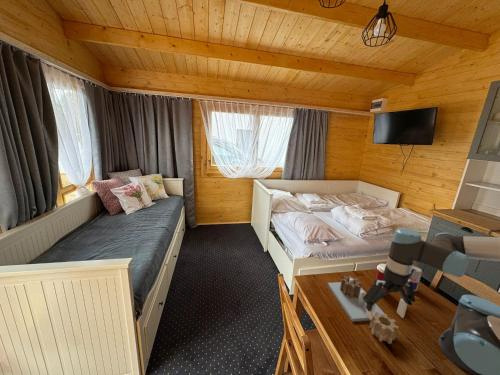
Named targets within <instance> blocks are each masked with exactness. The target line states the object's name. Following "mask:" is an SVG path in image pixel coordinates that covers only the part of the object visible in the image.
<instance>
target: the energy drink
mask: <svg viewBox="0 0 500 375" xmlns="http://www.w3.org/2000/svg"><path fill="white" fill-rule="evenodd" d="M422 273H423V271H422V269H421V268H420V267H418V266H416V265H413V267H412V270H411V273H410V277H409V280H411V281H412V282H413V286H412V287H413V292H414V293H415V292H417V291H418V287H419V283H420V281H421V277H422Z"/></svg>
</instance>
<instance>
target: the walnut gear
mask: <svg viewBox="0 0 500 375" xmlns="http://www.w3.org/2000/svg"><path fill="white" fill-rule="evenodd" d="M350 278H352V279H354V283H353V284H351V283H349V279H350ZM361 288H362V281H361V282H360V281H359V278H357V277H355V278H354V277H352V275H348V276H347V275H343V276H342V278H341V286H340V290H342V291H343V294H344V295H346V294H347V295H348V296H350V298H353V297H354V296H355V297H357V298H358V297H359V294H360V289H361Z"/></svg>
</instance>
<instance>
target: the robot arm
mask: <svg viewBox="0 0 500 375" xmlns="http://www.w3.org/2000/svg"><path fill="white" fill-rule="evenodd" d="M469 259H470V260H482V261H492V262H500V236H499V237H498V236H497V237H496V236H495V237H494V236H471V235H470V236H469V235H466V236H464V235H454V234H452V233H449V232H439V233H436V234H435V235H434V236H433V237H432V238H431V242H428V241H425V240H422V234H420V232H417V231H414V230H413V229H409V228H404V227H401V228H397V229H395V230H394V234H393V237H392V239H391V244H390V248H389V252H388V255H387V260H386V263H385V264H386V266H385V270H384V279H383V281H380V280H378V279H376V278H375V280H374V283H373V284H372V285H371V287H370V288H369V290H368V291H367V292H366V295H365V296H364V297H363V299H364V301H365V302H366V303H367V305H366V309H367V310H366V315H367V316H368V317H369V319H370V320H369V321H371V320H372V318H373V314H374V310H375V303H378V302H379V301H380V300H381V299H382V298H383V297H384V296H387V295H389V294H390V293H399V295H400V296H401V298H400V299H399V303H398V306H397V309H396V314H398V315H399V316H400V317H401V318H403V319H404V317H405V315H406V311H407V310H408V309H409V308H408V307H409V305H410V306H413V303H414V302H416V297H415V292H413V287H412V286H413V282H412V281H411V280H409V277H410V273H411V270H412V267H413V266H414V262H416V263H417V264H418V263H419V264H421V265H424V266H427V267H429V268H432V269H434V270H438V271H440V272H442V273H443V274H446V275H447V274H448V275H451V276H454V277H456V278H461V277H464V275H465V273H466V271H467V267H468V265H469V261H470V260H469ZM383 287H385V289H386V291H385V290H384V289H383ZM404 288H405V290H404ZM386 294H387V295H386ZM438 345H439V347H440V350H441V351H442V353H443V354H444V355H445V356H446V357H447V358H448V359H449V360H450V361H451V362H452V363H453V364H455V365H456V366H457V367H459V368H461V369H462V370H464V371H465V372H467V373H469V374H471V375H500V305H498V304H496V303H494V302H492V301H490V300H488V299H485V298H482V297H480V296H476V295H473V294H463V295H461V297H460V299H459V300H458V305H457V308H456V311H455V314H454V317H453V319H452V321H451V325H450V326H449V328H447V329H446V330H444V331H443V332H442V333H441V334H440V336H439V339H438Z"/></svg>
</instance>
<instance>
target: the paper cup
mask: <svg viewBox="0 0 500 375" xmlns="http://www.w3.org/2000/svg"><path fill="white" fill-rule="evenodd" d="M385 266H386V263H378V265H377V266H376V268H377V270H376V275H375V276H376V277H375V280H376V279H378V280H380V281H383V279H384V270H385ZM383 289H384V290H385V291H386V289H385V287H383ZM387 295H388V294H386V295H385V296H387Z"/></svg>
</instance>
